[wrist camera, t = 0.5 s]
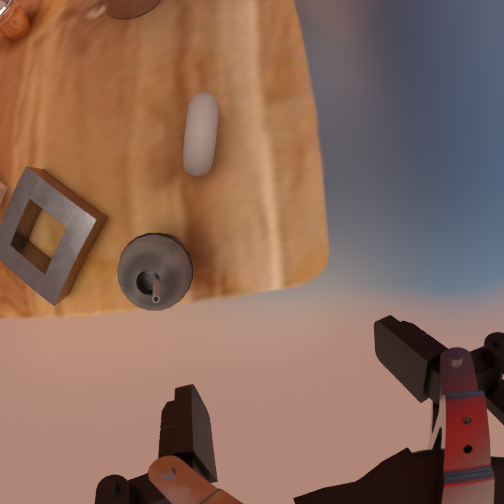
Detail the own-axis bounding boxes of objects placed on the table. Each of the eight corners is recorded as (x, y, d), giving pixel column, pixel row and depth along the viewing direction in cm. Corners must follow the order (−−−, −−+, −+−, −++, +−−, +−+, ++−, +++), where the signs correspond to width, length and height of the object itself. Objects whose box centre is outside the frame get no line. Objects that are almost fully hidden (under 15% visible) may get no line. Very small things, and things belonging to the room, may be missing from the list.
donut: (209, 180, 37) (214, 173, 27) (182, 179, 36) (178, 171, 26) (216, 108, 35) (223, 79, 25) (190, 106, 34) (189, 77, 25)
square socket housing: (9, 245, 32) (-9, 251, 27) (43, 169, 31) (26, 166, 27) (68, 294, 35) (54, 306, 30) (108, 217, 35) (96, 219, 30)
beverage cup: (135, 227, 36) (78, 255, 16) (189, 219, 37) (183, 238, 18) (144, 281, 37) (104, 354, 18) (197, 273, 38) (202, 343, 19)
